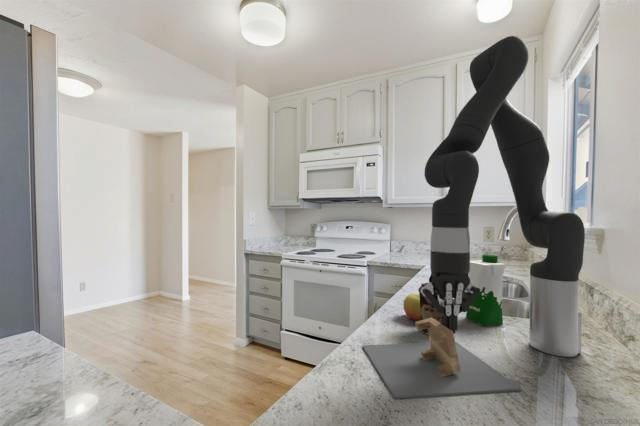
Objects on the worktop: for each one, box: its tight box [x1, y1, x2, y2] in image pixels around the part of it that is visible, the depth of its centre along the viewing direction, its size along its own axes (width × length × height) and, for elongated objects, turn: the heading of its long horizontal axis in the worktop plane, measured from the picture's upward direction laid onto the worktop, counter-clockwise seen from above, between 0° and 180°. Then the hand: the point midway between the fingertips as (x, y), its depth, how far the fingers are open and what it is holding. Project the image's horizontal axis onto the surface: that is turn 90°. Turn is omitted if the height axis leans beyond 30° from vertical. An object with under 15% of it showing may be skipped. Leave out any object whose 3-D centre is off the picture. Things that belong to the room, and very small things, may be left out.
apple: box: [403, 293, 421, 322], centre depth 90 cm, size 10×10×8 cm
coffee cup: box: [418, 282, 441, 335], centre depth 80 cm, size 9×8×13 cm
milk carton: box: [465, 254, 506, 327], centre depth 90 cm, size 9×9×20 cm
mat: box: [362, 341, 522, 400], centre depth 62 cm, size 24×20×1 cm
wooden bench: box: [414, 318, 461, 377], centre depth 61 cm, size 4×8×8 cm, turn 8°
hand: (449, 332), depth 61 cm, fingers closed
